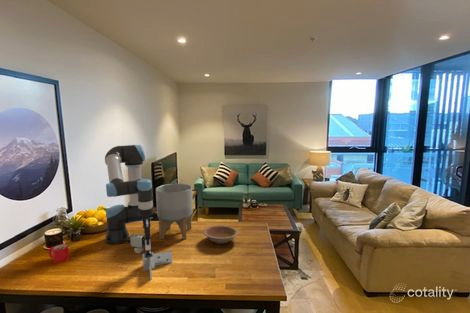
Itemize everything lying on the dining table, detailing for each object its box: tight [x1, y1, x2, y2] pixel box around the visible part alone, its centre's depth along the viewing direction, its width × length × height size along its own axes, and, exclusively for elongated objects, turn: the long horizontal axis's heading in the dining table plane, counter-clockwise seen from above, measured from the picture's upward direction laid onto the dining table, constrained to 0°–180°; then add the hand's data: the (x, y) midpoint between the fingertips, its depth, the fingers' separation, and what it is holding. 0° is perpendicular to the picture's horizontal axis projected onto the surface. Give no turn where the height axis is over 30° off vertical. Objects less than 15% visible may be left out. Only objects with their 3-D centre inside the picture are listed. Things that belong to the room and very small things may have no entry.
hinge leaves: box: [142, 249, 173, 281], centre depth 144 cm, size 16×16×7 cm
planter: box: [155, 182, 194, 241], centre depth 187 cm, size 25×25×34 cm
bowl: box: [202, 224, 239, 245], centre depth 177 cm, size 24×24×8 cm
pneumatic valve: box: [127, 233, 145, 254], centre depth 163 cm, size 6×12×12 cm, turn 78°
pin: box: [142, 225, 152, 255], centre depth 144 cm, size 4×4×17 cm
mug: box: [47, 243, 70, 264], centre depth 155 cm, size 8×12×8 cm, turn 86°
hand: (147, 248), depth 145 cm, fingers closed on pin, 3 cm apart
